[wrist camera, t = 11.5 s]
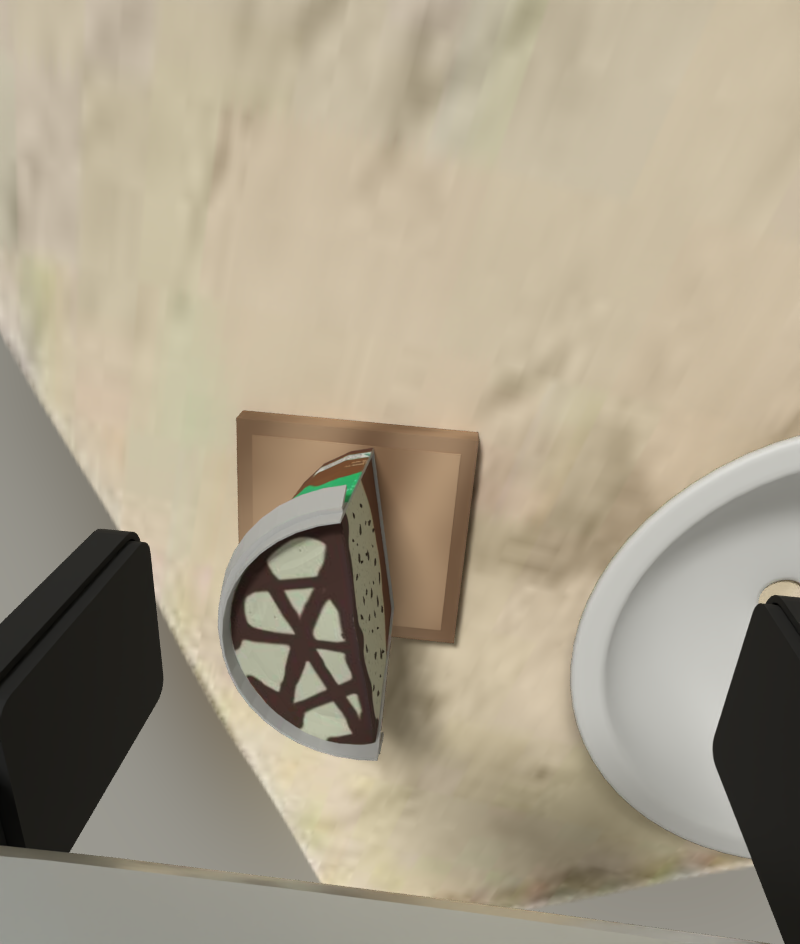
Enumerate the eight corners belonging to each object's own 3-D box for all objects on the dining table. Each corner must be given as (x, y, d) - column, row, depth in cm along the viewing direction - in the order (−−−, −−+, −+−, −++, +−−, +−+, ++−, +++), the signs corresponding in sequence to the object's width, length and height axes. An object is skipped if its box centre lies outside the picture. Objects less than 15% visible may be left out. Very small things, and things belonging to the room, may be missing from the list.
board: (478, 432, 36) (478, 441, 35) (453, 630, 41) (453, 643, 39) (243, 410, 36) (235, 418, 35) (246, 608, 41) (239, 621, 40)
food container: (247, 428, 35) (173, 518, 26) (369, 418, 35) (338, 507, 25) (289, 635, 40) (238, 774, 31) (397, 630, 39) (379, 770, 30)
